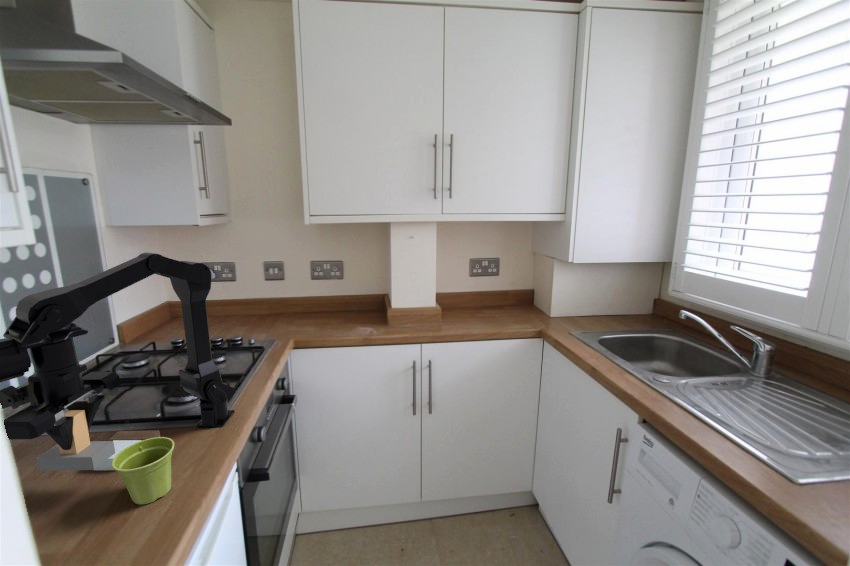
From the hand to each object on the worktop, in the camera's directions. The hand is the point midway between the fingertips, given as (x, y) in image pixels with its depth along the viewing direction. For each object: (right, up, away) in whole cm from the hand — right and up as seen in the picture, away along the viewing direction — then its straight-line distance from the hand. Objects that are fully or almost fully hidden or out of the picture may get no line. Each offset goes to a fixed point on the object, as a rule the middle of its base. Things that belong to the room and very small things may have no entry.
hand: (75, 443), depth 72 cm
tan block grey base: (0, -4, +1) cm, 4 cm away
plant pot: (+13, -10, +1) cm, 17 cm away
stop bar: (0, -7, +15) cm, 17 cm away
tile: (0, -8, +10) cm, 13 cm away
